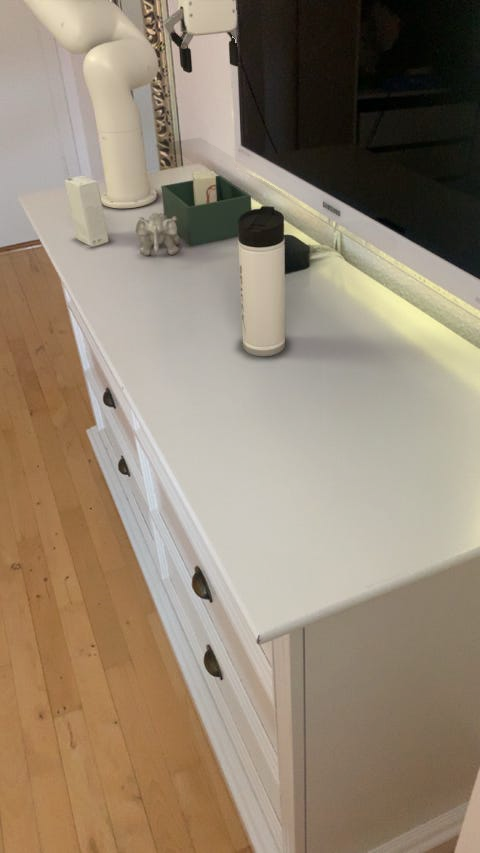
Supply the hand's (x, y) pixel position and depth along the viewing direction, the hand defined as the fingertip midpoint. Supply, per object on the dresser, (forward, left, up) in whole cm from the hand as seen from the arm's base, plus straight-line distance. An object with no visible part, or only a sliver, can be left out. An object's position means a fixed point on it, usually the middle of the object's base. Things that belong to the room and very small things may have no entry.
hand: (211, 68), depth 132 cm
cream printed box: (+5, -5, -28) cm, 29 cm away
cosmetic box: (0, -28, -28) cm, 40 cm away
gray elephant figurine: (+14, -18, -28) cm, 36 cm away
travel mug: (+54, -16, -28) cm, 63 cm away
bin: (+5, -5, -28) cm, 29 cm away
